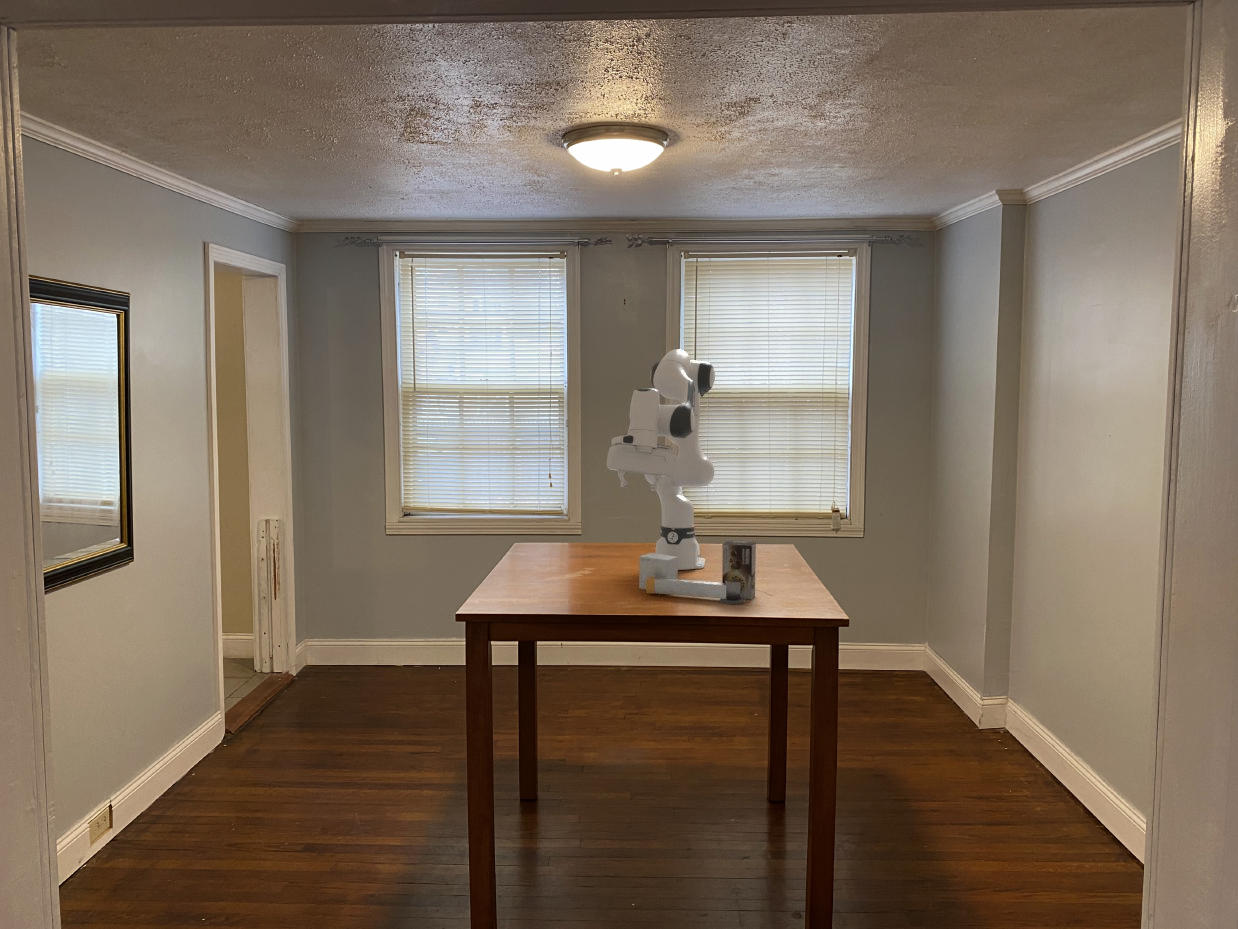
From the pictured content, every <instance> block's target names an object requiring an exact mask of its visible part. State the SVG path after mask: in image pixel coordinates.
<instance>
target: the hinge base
mask: <svg viewBox="0 0 1238 929" xmlns="http://www.w3.org/2000/svg"><path fill="white" fill-rule="evenodd" d="M720 603H721V604H724V605H732V606H733V605H734V606H735V605H744V604H745V603H746V599H744V598H741V597H740V600H727V599H720Z"/></svg>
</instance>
